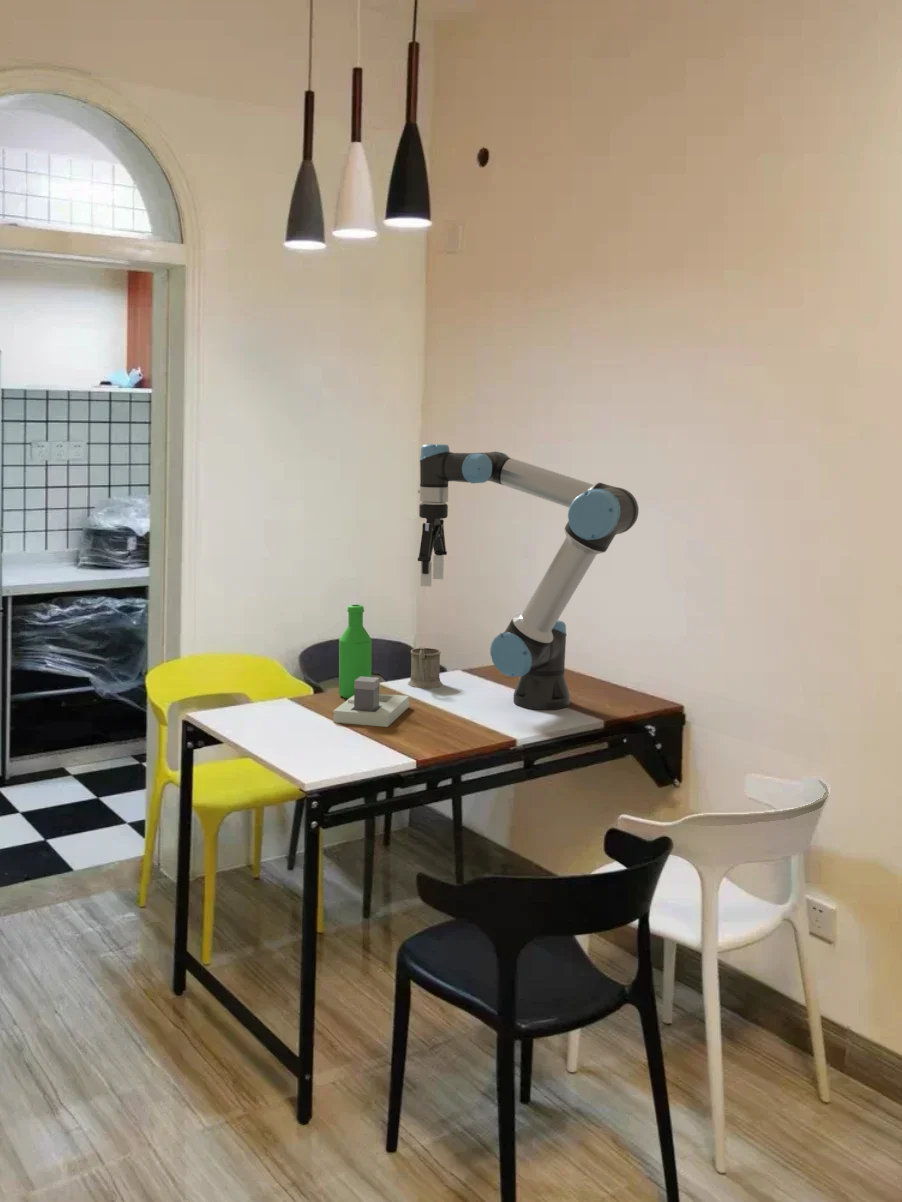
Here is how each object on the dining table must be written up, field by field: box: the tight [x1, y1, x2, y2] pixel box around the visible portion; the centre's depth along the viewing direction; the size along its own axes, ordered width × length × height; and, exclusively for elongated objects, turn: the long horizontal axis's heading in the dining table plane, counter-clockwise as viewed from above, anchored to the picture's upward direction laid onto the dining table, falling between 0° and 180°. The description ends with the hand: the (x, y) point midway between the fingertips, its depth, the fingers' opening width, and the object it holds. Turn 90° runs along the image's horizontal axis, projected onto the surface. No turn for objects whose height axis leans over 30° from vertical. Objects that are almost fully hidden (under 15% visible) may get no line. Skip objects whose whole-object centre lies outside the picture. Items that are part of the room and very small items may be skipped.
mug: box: [407, 646, 443, 689], centre depth 320 cm, size 14×10×12 cm
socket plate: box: [333, 693, 410, 728], centre depth 289 cm, size 14×20×4 cm
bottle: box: [338, 604, 373, 700], centre depth 306 cm, size 9×9×25 cm
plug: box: [354, 676, 380, 712], centre depth 284 cm, size 5×5×10 cm
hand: (432, 582), depth 302 cm, fingers open, 13 cm apart
